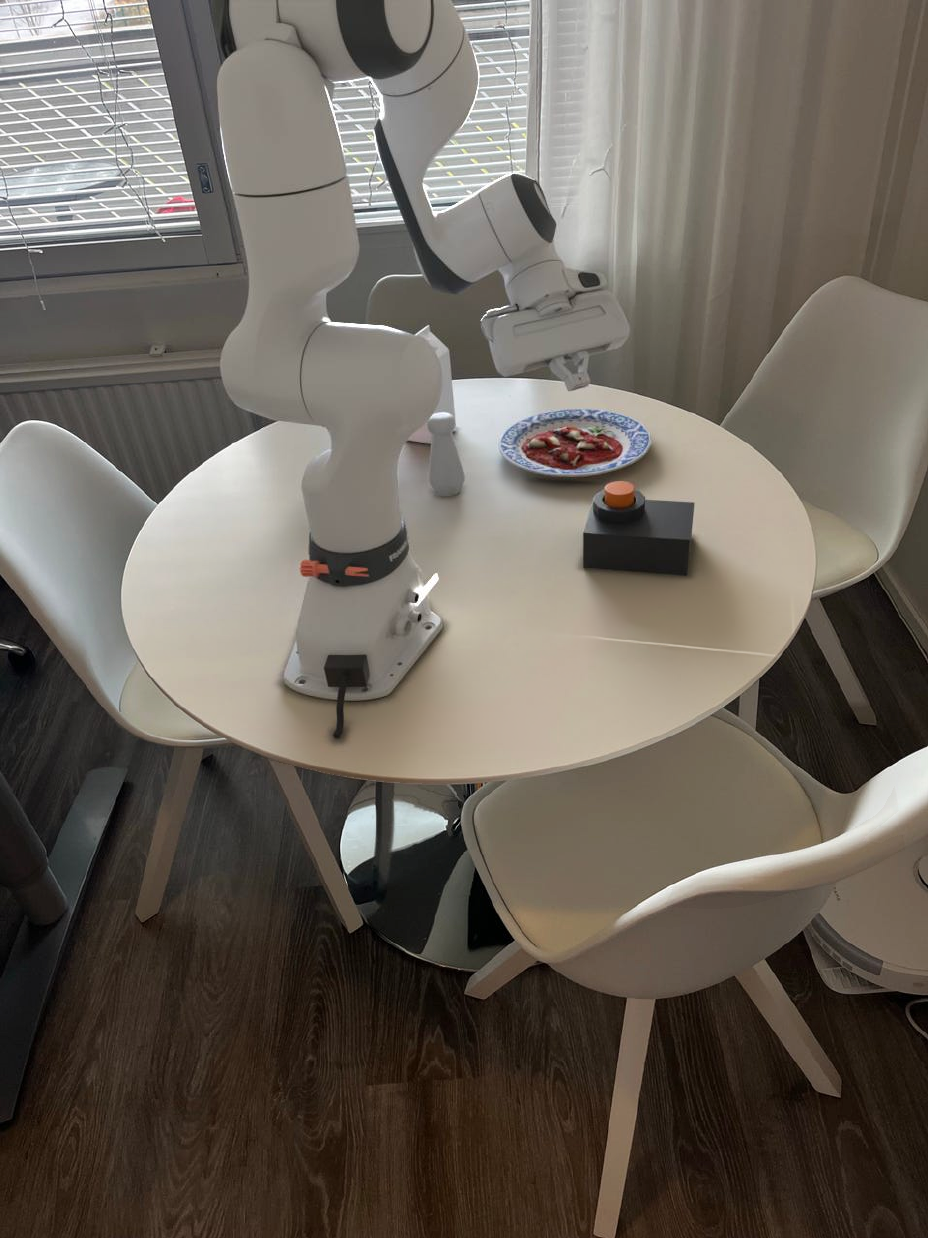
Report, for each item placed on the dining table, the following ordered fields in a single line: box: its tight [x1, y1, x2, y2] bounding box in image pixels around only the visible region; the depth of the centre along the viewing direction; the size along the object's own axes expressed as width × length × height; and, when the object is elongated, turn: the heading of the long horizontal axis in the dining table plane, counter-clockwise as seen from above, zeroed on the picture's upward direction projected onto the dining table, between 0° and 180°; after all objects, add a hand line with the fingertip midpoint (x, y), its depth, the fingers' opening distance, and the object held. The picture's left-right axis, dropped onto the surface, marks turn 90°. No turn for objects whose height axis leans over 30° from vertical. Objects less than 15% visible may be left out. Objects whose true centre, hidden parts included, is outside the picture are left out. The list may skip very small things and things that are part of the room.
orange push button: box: [604, 480, 636, 508], centre depth 120 cm, size 4×4×2 cm
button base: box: [582, 488, 695, 577], centre depth 120 cm, size 14×10×8 cm
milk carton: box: [406, 324, 457, 445], centre depth 154 cm, size 7×7×19 cm
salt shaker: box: [427, 412, 466, 498], centre depth 138 cm, size 6×6×13 cm
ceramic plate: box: [498, 408, 652, 478], centre depth 148 cm, size 26×26×3 cm
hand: (579, 387), depth 120 cm, fingers closed
